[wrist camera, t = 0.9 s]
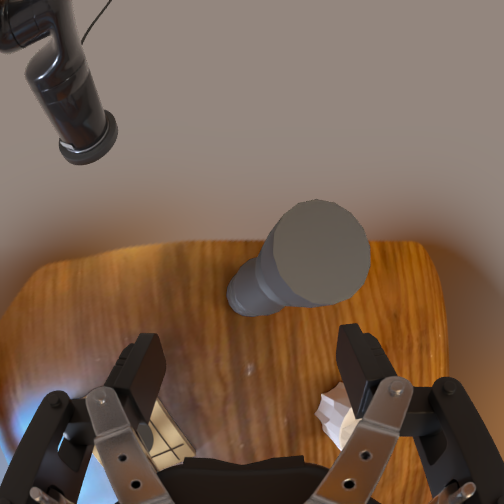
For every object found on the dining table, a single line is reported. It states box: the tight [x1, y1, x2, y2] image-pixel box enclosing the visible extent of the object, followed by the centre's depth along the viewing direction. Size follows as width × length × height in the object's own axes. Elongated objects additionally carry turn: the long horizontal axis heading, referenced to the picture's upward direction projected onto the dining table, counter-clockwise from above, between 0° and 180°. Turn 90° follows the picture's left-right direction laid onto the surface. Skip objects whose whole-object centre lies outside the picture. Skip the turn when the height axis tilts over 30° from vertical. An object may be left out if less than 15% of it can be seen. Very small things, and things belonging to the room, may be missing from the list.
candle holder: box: [227, 199, 370, 317], centre depth 27 cm, size 6×6×25 cm
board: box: [80, 396, 196, 470], centre depth 30 cm, size 14×14×2 cm
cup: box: [314, 382, 362, 451], centre depth 32 cm, size 10×10×10 cm
